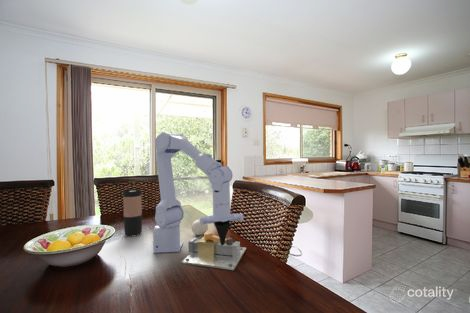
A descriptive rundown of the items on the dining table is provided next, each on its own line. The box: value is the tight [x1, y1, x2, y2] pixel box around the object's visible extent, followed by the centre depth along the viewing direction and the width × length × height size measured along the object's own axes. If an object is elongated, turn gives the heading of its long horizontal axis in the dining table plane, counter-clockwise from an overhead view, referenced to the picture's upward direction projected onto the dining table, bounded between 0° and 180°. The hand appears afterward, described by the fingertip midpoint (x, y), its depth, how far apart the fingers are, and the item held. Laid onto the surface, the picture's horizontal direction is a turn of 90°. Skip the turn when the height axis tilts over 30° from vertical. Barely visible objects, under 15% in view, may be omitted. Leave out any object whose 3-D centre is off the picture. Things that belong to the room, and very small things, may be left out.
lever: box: [203, 231, 234, 246], centre depth 79 cm, size 12×3×2 cm, turn 52°
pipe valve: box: [187, 236, 241, 257], centre depth 81 cm, size 18×6×5 cm, turn 74°
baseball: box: [191, 218, 209, 236], centre depth 102 cm, size 7×7×7 cm
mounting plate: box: [180, 246, 247, 271], centre depth 80 cm, size 18×16×1 cm
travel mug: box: [122, 188, 143, 237], centre depth 105 cm, size 8×8×20 cm
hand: (222, 243), depth 76 cm, fingers closed
